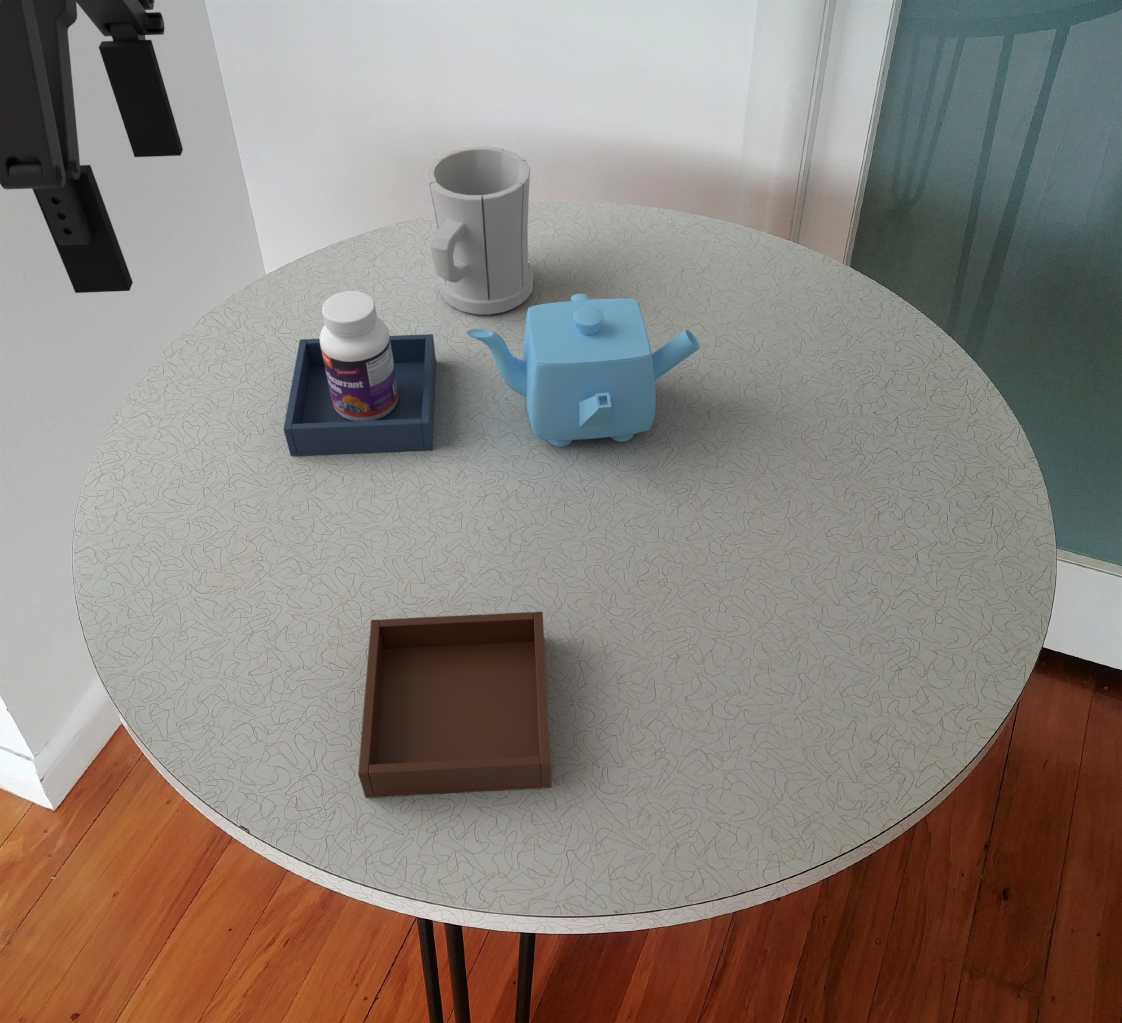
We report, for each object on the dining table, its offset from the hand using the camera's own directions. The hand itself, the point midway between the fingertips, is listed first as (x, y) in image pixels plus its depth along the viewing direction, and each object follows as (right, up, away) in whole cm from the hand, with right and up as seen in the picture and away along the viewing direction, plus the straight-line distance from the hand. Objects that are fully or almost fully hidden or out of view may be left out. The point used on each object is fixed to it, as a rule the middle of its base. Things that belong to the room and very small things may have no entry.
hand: (134, 216), depth 58 cm
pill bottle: (+7, -7, +29) cm, 31 cm away
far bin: (+7, -8, +29) cm, 31 cm away
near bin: (+17, -29, +9) cm, 35 cm away
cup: (+17, +4, +40) cm, 43 cm away
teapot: (+26, -9, +28) cm, 39 cm away
